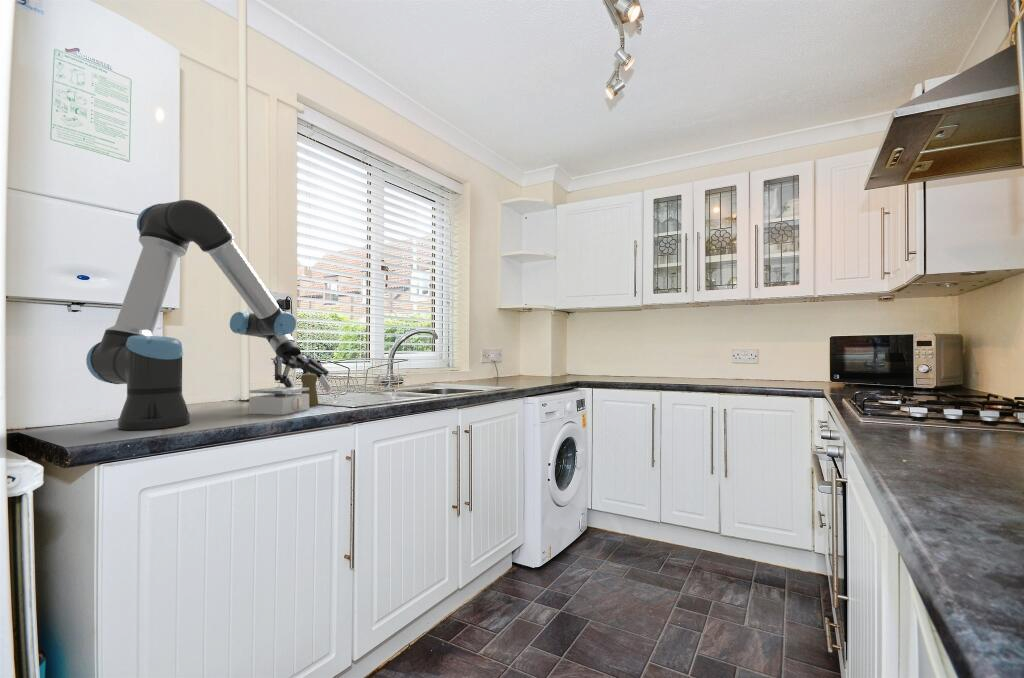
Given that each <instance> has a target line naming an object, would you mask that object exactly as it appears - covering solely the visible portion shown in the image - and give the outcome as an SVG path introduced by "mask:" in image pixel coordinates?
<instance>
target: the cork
mask: <svg viewBox="0 0 1024 678" xmlns="http://www.w3.org/2000/svg"><path fill="white" fill-rule="evenodd" d="M300 381H301V383H302V386H301V387H304V388H309V390H306V391H301V392H300V394H309V407H317V406H319V397H318V390H317V385H316V383H317V381H318V377H317V375H316V374H313V373H310V372H307V373H304V374H301V377H300Z"/></svg>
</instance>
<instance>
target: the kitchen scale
mask: <svg viewBox="0 0 1024 678" xmlns="http://www.w3.org/2000/svg"><path fill="white" fill-rule="evenodd" d="M248 399H249V403H248V405H249V406H248V407H249V411H248V413H249V414H250V415H251V414H252V415H253V414H255V415H258V414H259V415H281V416H284V415H289V414H294V413H300V412H303V411H309V410H310V406H309V394H301V393H297V394H292V393H285V394H264V395H256V396H255V395H254V396H249V397H248Z"/></svg>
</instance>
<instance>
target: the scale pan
mask: <svg viewBox="0 0 1024 678" xmlns="http://www.w3.org/2000/svg"><path fill="white" fill-rule="evenodd" d="M306 390H309V388H304V387H302V386H299V387H297V386H296V387H285V386H275V387H274V386H273V387H267V388H266V387H265V388H258V389H249V390H248V393H249V394H266V395H268V394H285V393H292V392H298V393H299V392H302V391H306Z"/></svg>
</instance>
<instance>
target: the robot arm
mask: <svg viewBox="0 0 1024 678" xmlns="http://www.w3.org/2000/svg"><path fill="white" fill-rule="evenodd" d="M136 229H137V230H138V232H139V233H138V234H139V237H138V242H139V243H140V245H141V246H142V249H141V251H140V254H139V257H138V260H137V263H136V266H135V268H134V271H133V274H132V277H131V280H130V282H129V285H128V288H127V291H126V293H125V296H124V299H123V302H122V305H121V308H120V310H119V312H118V315H117V318H116V321H115V324H114V325H113V326H110V327H108V328H106V329H105V330H104V333H103V336H102V339H101V341H99V342H97V343H96V344H94V345H93V346H91V348H90V349H89V350H88V351H87V354H86V355H87V356H86V360H85V361H86V362H85V363H86V367H87V369H88V371H89V373H90V374H91V375H92V376H93V377H94V378H95V379H97V380H99V381H101V382H103V383H109V384H114V385H123V384H126V399H125V402H124V404H123V407H122V409H121V413H120V416H119V417H118V419H117V421H118V422H117V430H118V429H119V430H124V431H145V430H147V431H148V430H157V429H167V428H174V427H180V426H185V425H188V424H190V423H191V414H190V412H189V409H188V407H187V403H186V401H185V399H184V395H183V357H184V356H183V355H184V352H183V344H182V341H181V340H180V339H178V338H175V337H169V336H161V335H160V336H159V335H154V331H155V327H156V324H157V322H158V318H159V317H160V316H159V315H160V313H161V310H162V306H163V303H164V300H165V297H166V294H167V291H168V288H169V285H170V282H171V279H172V276H173V274H174V270H175V267H176V264H177V262H178V259H179V258H181V257H183V256H185V255H186V254H187V251H188V248H189V246H190V243H191V242H193V243H194V244H195V245H197V247H198V248H200V250H201V251H202V252H203V253H207V254H209V256H211V258H212V260H213V261H214V262H215V264H216V265H217V266H218V268H219V269H220V270H221V272H222V273H223V274H224V275H225V277H226V278H227V279H228V281H229V283H230V284H231V285H232V286H233V288H234V289H235V290H236V291H237V293H238V294H239V296H240V297H241V298H242V300H243V301H244V302H245V304H246V305H247V306H248V307H249V308H250V310H251V312H252V313H251V312H250V313H248V312H246V311H245V312H243V311H236V312H234V313H233V314H232V315H231V317H230V319H229V329H230V330H231V331H232V333H234V334H238V335H240V336H243V335H244V336H251V337H258V338H263V339H266V341H268V343H269V345H270V346H271V349H272V350H273V351H274V352H275V355H276V356H275V357H274V359H273V361H272V363H273V364H274V380H275V381H277V382H279V384H283V385H284V387H297V385H296V383H295V382H294V380H293V378H292V377H291V376H289V373H290V371H291V369H292V370H296V369H300V370H302V371H306V372H307V373H313V374H316V375H317V379H318V382H319V383H320V384H321V386H322V387H323V389H324V391H325V392H326V394H329V393H330V392H331V391H332V389H333V386H332V385H331V383H330V379H329V378H328V375H329V370H328V369H326V368H325V367H324V366H323V365H321V364H320V363H319V362H317V361H316V360H315V359H313V357H312V356H311V354H307V355H306V356H303V355H302V354H301V353H302V352H301V348H300V347H299V345H298V344H297V343H296V341H295V340H294V338H293V336H292V335H291V334H292V333H293V332H294V331H295V330H296V327H297V320H296V317H295V315H294V314H292V313H291V312H286V311H283V310H282V308H281V307H280V306H279V304H278V303H277V301H276V300H275V298H274V297H273V296H272V294H271V293H270V291H269V290H268V289H267V287H266V286H265V284H264V282H263V281H262V280H261V279H260V278H259V276H258V274H257V273H256V271H255V270H254V268H253V267H252V266H251V264H250V263H249V262H248V260H247V259H246V257H245V256H244V254H243V253H242V251H241V250H240V249H239V247H238V246H237V244H236V243H235V242H234V238H235V236H234V233H233V232H232V231H231V230H230V228H229V227H228V226H227V224H226V223H225V222H224V220H223V219H222V218H221V217H219V216H218V214H217V213H215V212H214V211H213V210H212V209H211V208H209V207H208V206H206V205H205V204H203V203H202V202H198V201H196V200H190V199H181V200H176V201H172V202H171V201H170V202H163V203H156V204H153V205H150V206H147V207H146V208H144V209H143V210H142V211H140V213H139V214H138V217H137V219H136ZM282 364H284V365H285V367H284V371H283V370H282ZM282 371H283V373H282ZM292 394H299V392H292Z"/></svg>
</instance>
